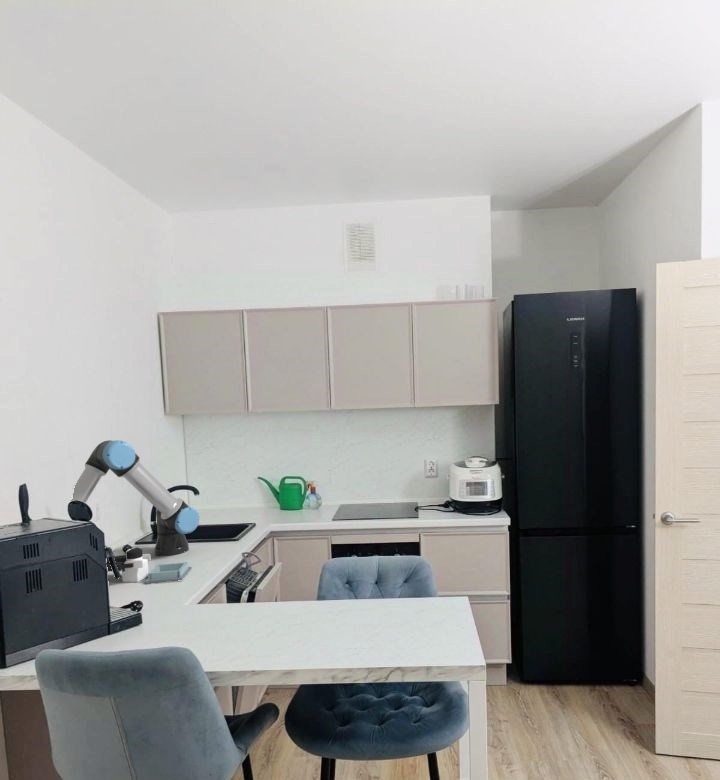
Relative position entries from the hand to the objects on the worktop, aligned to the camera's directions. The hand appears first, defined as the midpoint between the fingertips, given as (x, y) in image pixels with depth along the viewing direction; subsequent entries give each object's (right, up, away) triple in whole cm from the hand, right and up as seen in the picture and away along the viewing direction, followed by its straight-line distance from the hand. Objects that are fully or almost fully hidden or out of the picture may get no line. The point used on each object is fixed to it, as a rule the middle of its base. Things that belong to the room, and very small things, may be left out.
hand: (146, 560), depth 234 cm
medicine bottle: (-4, -8, 0) cm, 9 cm away
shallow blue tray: (+9, -6, 0) cm, 11 cm away
